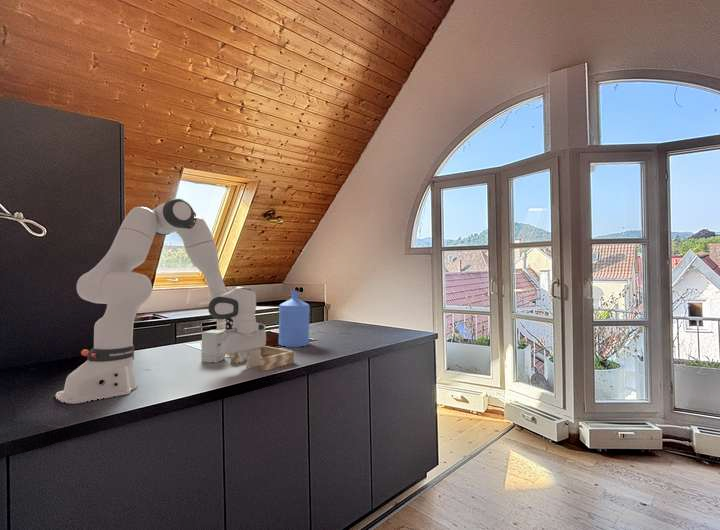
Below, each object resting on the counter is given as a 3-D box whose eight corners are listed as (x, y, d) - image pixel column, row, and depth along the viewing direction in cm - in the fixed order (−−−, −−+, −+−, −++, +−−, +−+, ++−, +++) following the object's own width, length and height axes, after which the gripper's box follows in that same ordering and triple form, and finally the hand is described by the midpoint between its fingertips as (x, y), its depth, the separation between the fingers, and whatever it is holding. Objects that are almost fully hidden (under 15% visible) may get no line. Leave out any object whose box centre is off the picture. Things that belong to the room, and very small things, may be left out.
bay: (262, 371, 165) (262, 358, 165) (230, 363, 176) (230, 351, 176) (294, 363, 179) (294, 351, 179) (263, 356, 190) (263, 345, 190)
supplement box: (216, 363, 177) (217, 333, 177) (200, 362, 178) (201, 332, 178) (225, 359, 184) (226, 330, 184) (210, 358, 185) (210, 329, 185)
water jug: (306, 348, 210) (307, 292, 210) (275, 347, 211) (276, 291, 210) (310, 342, 226) (311, 290, 226) (281, 341, 226) (282, 289, 226)
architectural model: (243, 367, 172) (244, 349, 172) (258, 364, 177) (258, 347, 177) (248, 369, 170) (249, 350, 170) (263, 366, 175) (263, 348, 175)
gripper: (227, 331, 159) (227, 367, 159) (268, 325, 176) (268, 358, 176) (217, 329, 163) (216, 365, 163) (258, 323, 179) (257, 355, 179)
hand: (243, 361), depth 169 cm, fingers closed
